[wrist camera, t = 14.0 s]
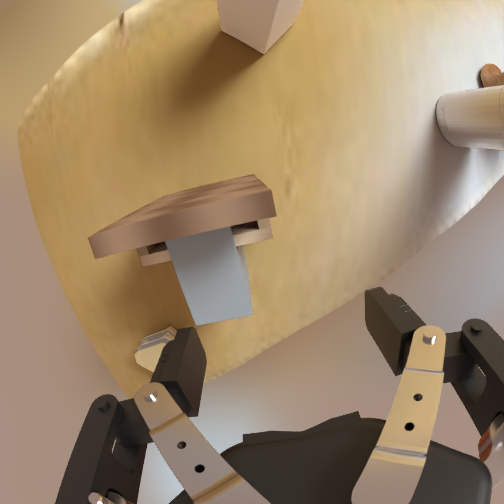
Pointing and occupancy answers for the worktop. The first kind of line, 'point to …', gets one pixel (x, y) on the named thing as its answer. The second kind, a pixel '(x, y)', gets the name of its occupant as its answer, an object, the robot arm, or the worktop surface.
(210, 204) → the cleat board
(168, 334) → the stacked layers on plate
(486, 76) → the tan boot vase
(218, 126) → the worktop surface
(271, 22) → the milk carton
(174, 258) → the blue-grey block
